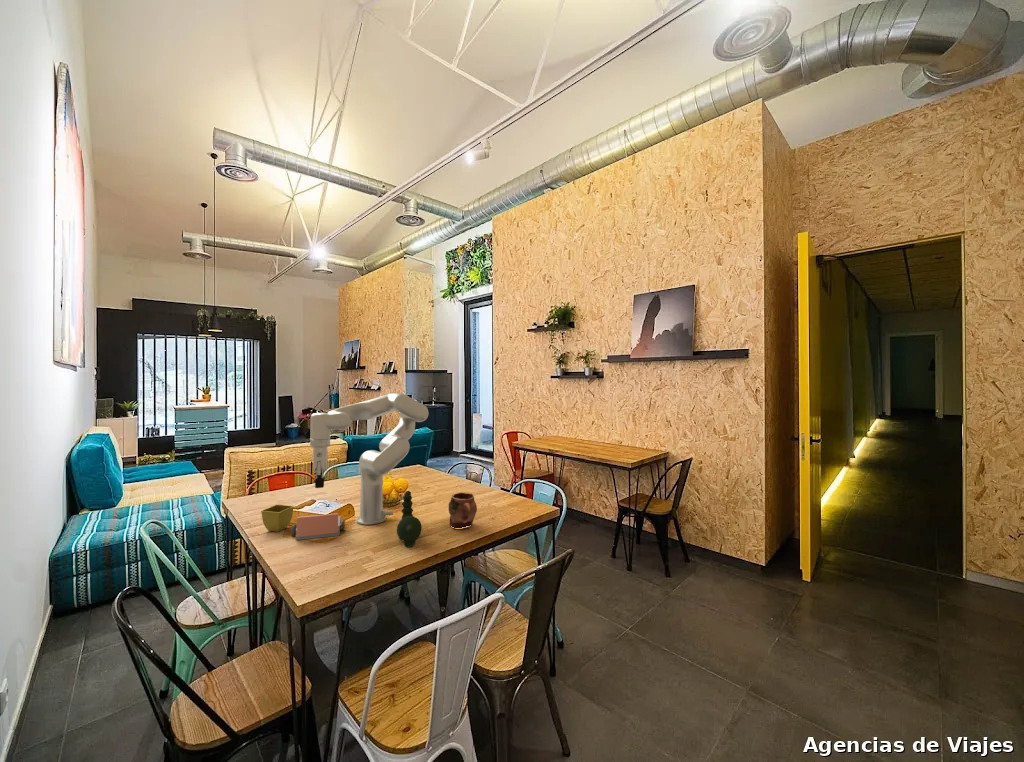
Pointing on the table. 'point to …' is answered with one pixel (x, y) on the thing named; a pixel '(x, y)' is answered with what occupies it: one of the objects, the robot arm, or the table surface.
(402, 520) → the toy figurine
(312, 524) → the panel
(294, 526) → the trailer
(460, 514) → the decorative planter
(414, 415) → the robot arm
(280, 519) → the flower pot
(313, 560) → the table surface
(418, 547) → the table surface
